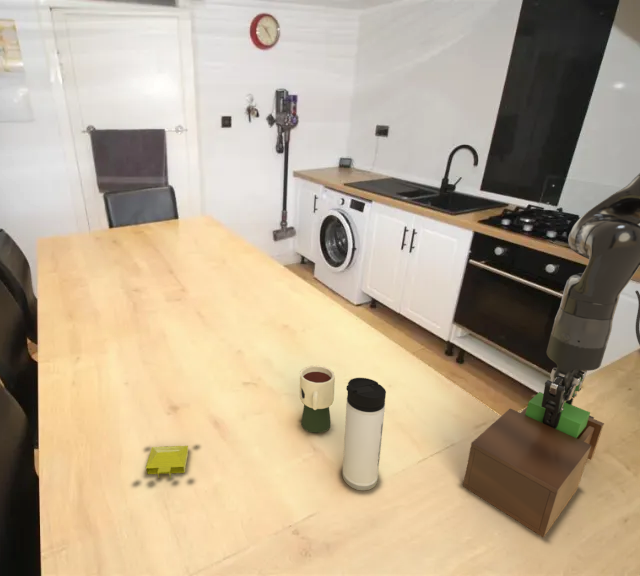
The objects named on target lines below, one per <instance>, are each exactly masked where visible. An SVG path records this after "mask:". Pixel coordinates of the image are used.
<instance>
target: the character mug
mask: <svg viewBox="0 0 640 576" xmlns="http://www.w3.org/2000/svg"><path fill="white" fill-rule="evenodd" d="M335 383H336V375H335V371H333V370H332V369H331V368H329V367H326V366H325V365H319V364H318V365H309V366H305V367H303V368H302V369H301V370H300V372H299V400H300V402H301V403H302V404H303V409H302V414H301V424H300V426H301V427H302V429H304V430H305V431H307V432H308V433H324V432H327V431H329V429H330V428H331V412H330V407H331V406H332V405H333V403H334V401H335V385H336V384H335Z"/></svg>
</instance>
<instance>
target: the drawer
mask: <svg viewBox="0 0 640 576" xmlns="http://www.w3.org/2000/svg"><path fill="white" fill-rule="evenodd" d="M536 395H537V394H532V395H531V397H530V400H531V399H532V398H533V397H535V396H536ZM526 410H527V406H526V407H525V408H524V409H523V410H521V412H520V413H521V414H524V415H525V414H526ZM604 425H605V423H604V422H603V421H599V420H597V419H595V417H594V416H592V415H590V416H589V419H588V422H587V425H586V427H585V428H584V429H583V431H582V432H581V433H580V434H579V436H578V437H577V439H579V440H581V441H583V442H586V443H588V444H590V445H591V448H590V452H589V455H588V458H587V460H590V461H592V460H593V458H594V455H595V453H596V449H597V446H598V443H599V441H600V437H601V434H602V431H603V428H604Z"/></svg>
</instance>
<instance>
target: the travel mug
mask: <svg viewBox="0 0 640 576" xmlns="http://www.w3.org/2000/svg"><path fill="white" fill-rule="evenodd" d="M346 391H347V395H346V403H345V404H346V406H345V420H344V421H345V422H344V423H345V425H344V438H343V439H344V440H343V454H342V455H343V457H342V471H341V474H342V475H341V476H342V479H343V481H344V482H345V483H346V485H348V486H349V488H352V489H354V490H357V491H369V490H372V489H373V488H374V487H376V485H377V483H378V479H379V471H380V458H381V450H382V449H381V448H382V439H383V431H384V430H383V428H384V421H385V420H384V417H385V409H386V396H387V395H386V394H387V390H386V389H385V388H384V387H383V386H382V385H381V384H379V382H378V381H376V380H374V379H371V378H367V377H354V378H351V379H350V380H349V381H348V383H347V385H346Z"/></svg>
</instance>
